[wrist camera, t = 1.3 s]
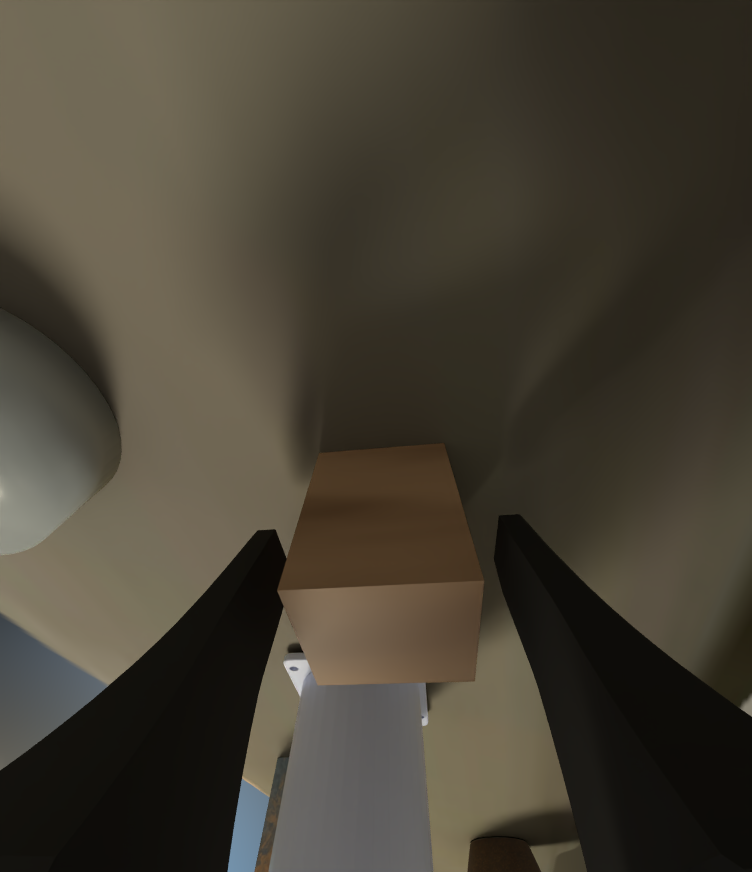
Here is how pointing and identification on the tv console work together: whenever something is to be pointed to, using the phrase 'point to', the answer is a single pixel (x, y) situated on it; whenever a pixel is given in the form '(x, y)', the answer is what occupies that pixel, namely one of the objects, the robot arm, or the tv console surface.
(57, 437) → the pale grey round disc
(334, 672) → the walnut block
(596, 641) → the robot arm
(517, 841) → the plant pot
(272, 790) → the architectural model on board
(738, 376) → the tv console surface
